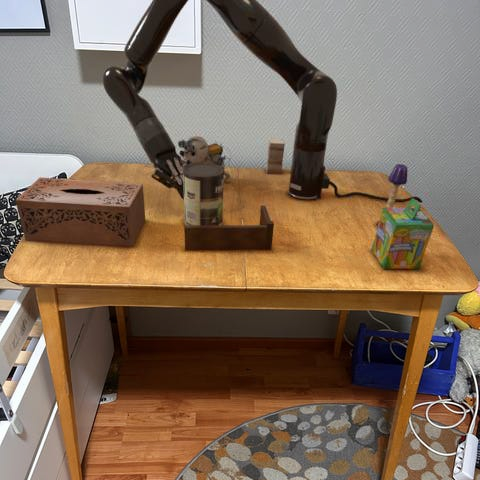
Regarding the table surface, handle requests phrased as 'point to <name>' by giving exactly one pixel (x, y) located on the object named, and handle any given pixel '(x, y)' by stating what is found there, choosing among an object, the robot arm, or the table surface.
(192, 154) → the robotic toy
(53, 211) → the tissue box cover
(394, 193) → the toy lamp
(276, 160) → the brown banded block
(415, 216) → the chalk box
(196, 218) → the coffee can
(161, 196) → the table surface
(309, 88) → the robot arm
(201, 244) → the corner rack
